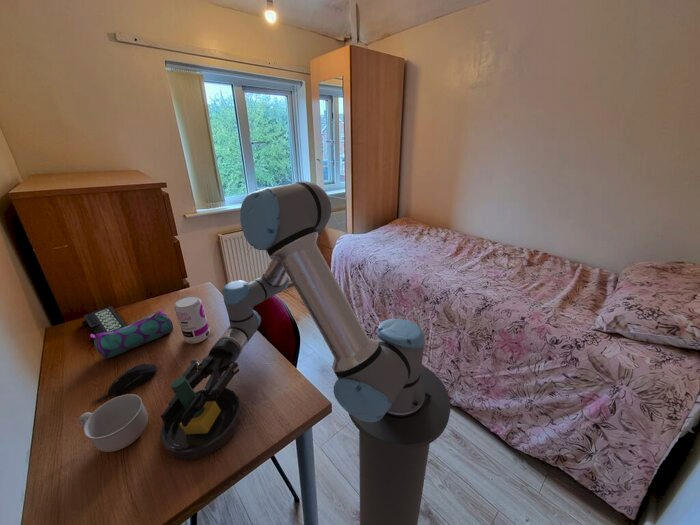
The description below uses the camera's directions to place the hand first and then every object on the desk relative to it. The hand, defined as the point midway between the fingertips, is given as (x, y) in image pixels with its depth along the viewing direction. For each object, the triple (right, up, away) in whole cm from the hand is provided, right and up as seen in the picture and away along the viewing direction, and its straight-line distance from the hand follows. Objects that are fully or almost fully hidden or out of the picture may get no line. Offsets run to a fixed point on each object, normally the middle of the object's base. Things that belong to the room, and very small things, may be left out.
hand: (173, 421), depth 62 cm
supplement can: (-16, +8, +39) cm, 43 cm away
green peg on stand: (+3, -5, +8) cm, 9 cm away
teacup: (-17, -7, +7) cm, 19 cm away
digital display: (-54, +10, +46) cm, 72 cm away
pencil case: (-34, +6, +37) cm, 51 cm away
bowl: (+3, -6, +8) cm, 10 cm away
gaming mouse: (-26, -1, +21) cm, 33 cm away
